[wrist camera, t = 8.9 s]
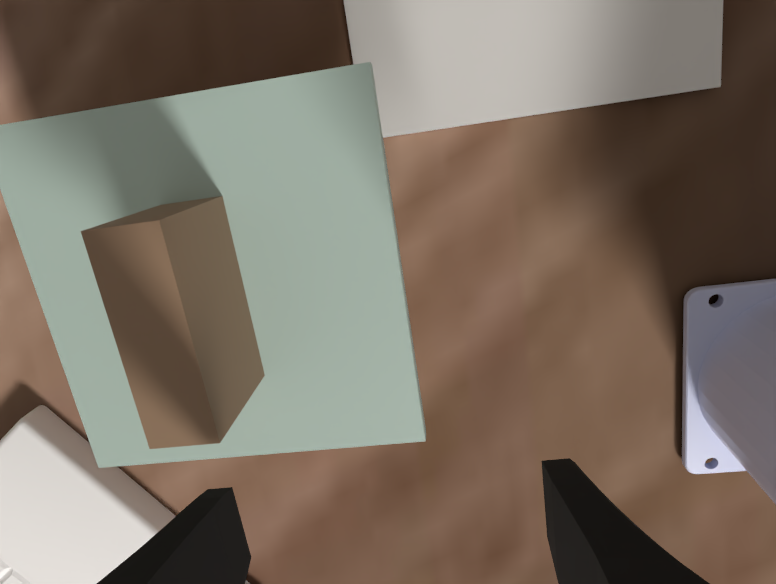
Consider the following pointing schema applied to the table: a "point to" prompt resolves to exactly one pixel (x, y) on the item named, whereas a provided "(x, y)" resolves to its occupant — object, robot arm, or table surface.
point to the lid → (221, 269)
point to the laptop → (66, 507)
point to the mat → (528, 55)
